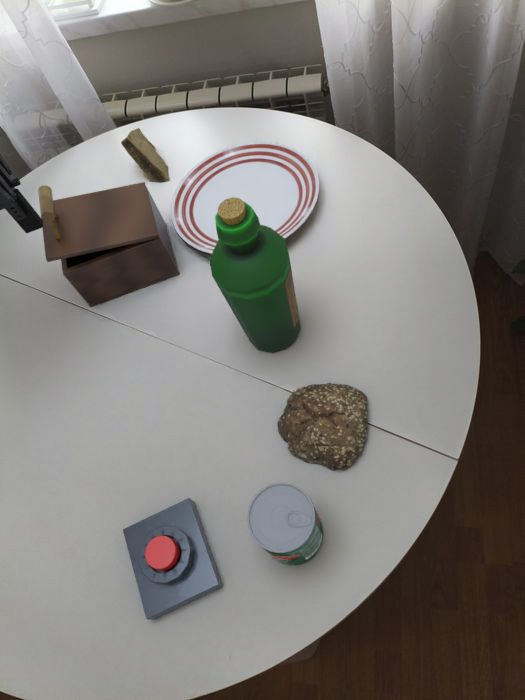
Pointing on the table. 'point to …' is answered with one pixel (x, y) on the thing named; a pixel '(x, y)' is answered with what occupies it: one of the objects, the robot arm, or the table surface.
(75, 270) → the chest
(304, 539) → the canned tomato
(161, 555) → the button
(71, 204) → the lid
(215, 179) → the dinner plate
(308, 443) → the bread roll
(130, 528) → the button block
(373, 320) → the table surface
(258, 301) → the bottle
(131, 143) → the rock
